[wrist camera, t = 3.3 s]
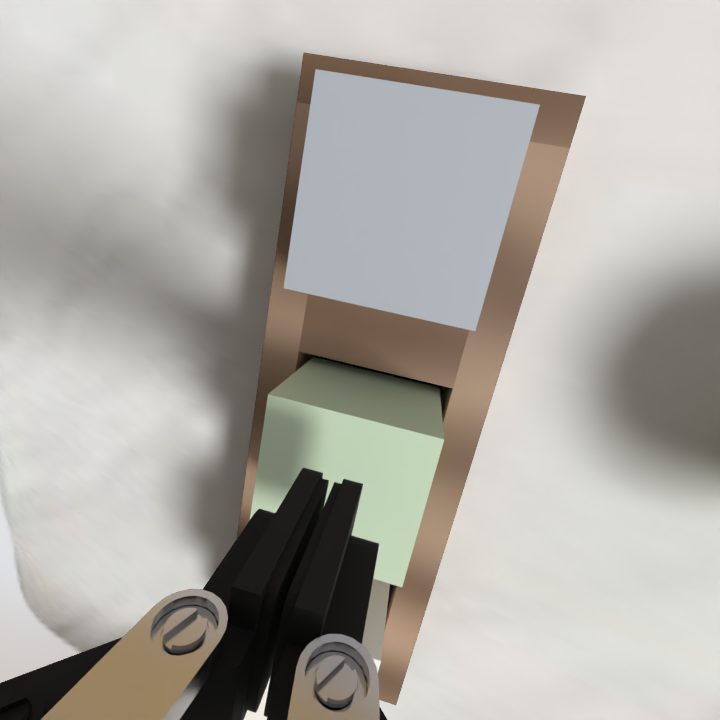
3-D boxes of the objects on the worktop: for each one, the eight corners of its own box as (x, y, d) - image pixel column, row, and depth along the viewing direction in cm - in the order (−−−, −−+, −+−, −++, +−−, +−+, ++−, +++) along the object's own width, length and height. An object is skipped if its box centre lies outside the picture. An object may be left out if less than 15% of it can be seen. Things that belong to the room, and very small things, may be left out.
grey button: (460, 310, 15) (475, 331, 11) (326, 280, 16) (283, 288, 11) (501, 159, 14) (540, 104, 9) (352, 132, 15) (315, 68, 10)
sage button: (409, 500, 18) (402, 587, 13) (294, 468, 18) (246, 540, 14) (439, 387, 16) (444, 439, 12) (313, 357, 17) (268, 394, 12)
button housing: (400, 648, 22) (396, 705, 19) (247, 599, 23) (221, 646, 20) (556, 127, 15) (586, 95, 12) (325, 90, 16) (303, 52, 13)
